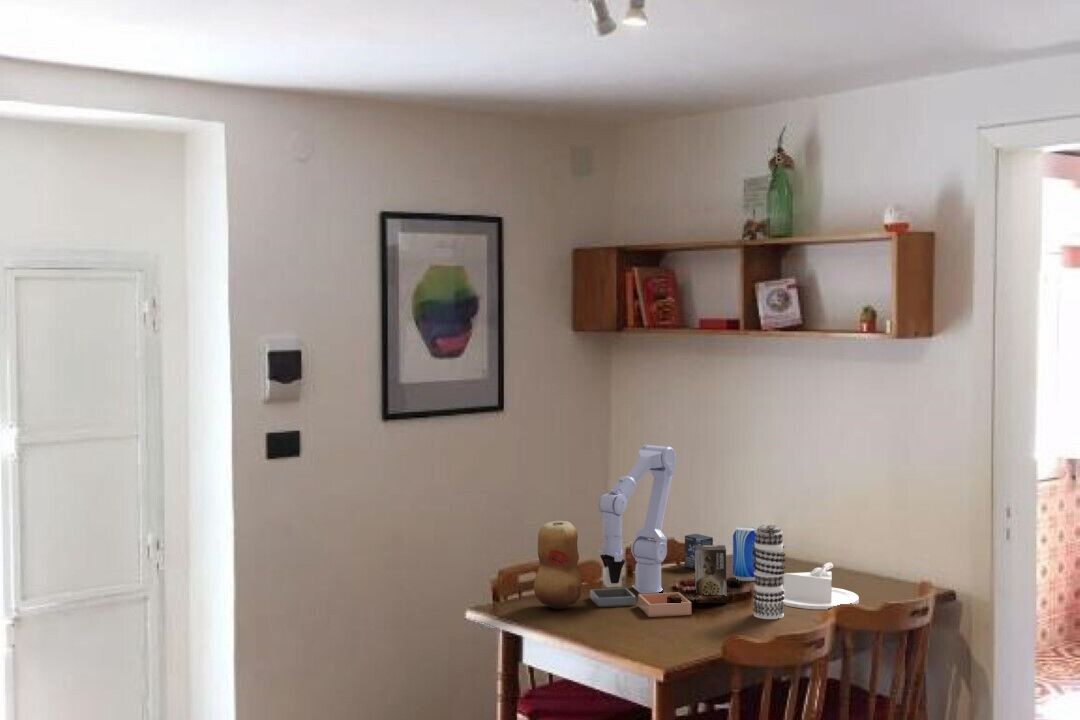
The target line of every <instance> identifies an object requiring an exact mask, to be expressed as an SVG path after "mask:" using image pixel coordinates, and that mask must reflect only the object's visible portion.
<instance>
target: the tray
mask: <svg viewBox="0 0 1080 720" xmlns="http://www.w3.org/2000/svg"><path fill="white" fill-rule="evenodd" d="M589 599H590V600H591V601H592V602H593V604H594V605H596V606H597V608H609V607H610V608H611V607H612V608H613V607H614V608H615V607H633V606H634V607H635V606H637V596H635V594H634V593H633V592H632V591H630V590H629V589H628V588H627V587H621V588H620V587H619V588H618V587H615V588H601V589H600V588H599V589H589Z"/></svg>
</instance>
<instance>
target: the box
mask: <svg viewBox="0 0 1080 720" xmlns="http://www.w3.org/2000/svg"><path fill="white" fill-rule="evenodd" d="M695 545H714V537H712V536H708V535H704V534H699V533H692V534H691V533H690V534H687V535H684V567H685V568H690V569H694V570H695Z"/></svg>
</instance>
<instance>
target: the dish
mask: <svg viewBox="0 0 1080 720" xmlns="http://www.w3.org/2000/svg"><path fill="white" fill-rule="evenodd" d="M833 568H834V564H833V562H831V561H829V562H826V563H824V564H823V565H822V567H815V568H813V570H810V571H809V572H786V573H784V575H783V591H784V594H783V595H782V596H784V600H782V601H783V603H784V604H785V605H784V606H787V607H792V608H798V609H806V610H828V608H830V607H833V606H837V605H840V604H850V603H852V604H856V605H857V604H859V602H860V598H859V595H858V594H857V593H855V592H853V591H850V590H847V589H843V588H838V587H833V586H832V584H833V583H832V580H833V578H832V573H833V572H832V571H829V570H831V569H833Z"/></svg>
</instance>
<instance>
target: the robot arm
mask: <svg viewBox="0 0 1080 720" xmlns="http://www.w3.org/2000/svg"><path fill="white" fill-rule="evenodd" d="M637 456H638V457H637V458H638V459H637V460H636V461H635V463H634V464H633V466H632V468H630V471H629V473H627V475H623V476H621V477H619V479H618V480H617V482H616V483H615V484H614V486H613V487H612V488H611V490H609V492H608V493H604V494H603V495H601V496H600V497H599V500H598V503H597V509H598V511H599V512H600V519H602V520H601V521H602V526H601V527H602V528H601V530H602V549H599V550H598V553H599V554H600V558H601V561H602V563H603V567H608V569H609V574H610V581H611V583H619V579H620V574H621V570H622V569H623V567H624V565H625V564H626V559H625V558H624V559H623V557H622V556H623V553H624V550H623V513H625V512H626V509H627V505H628V502H629V499H630V498H631V497H632V495H633V494H634V493H635V492H636V490H637V489H638V488H637V483H638V482H639V481H640V480H641V479H642V478H643V476H644V475H645V474H646V473H647V472H649V473H650V474H651V475H652V477H653V481H652V486H651V490H650V495H649V501H648V506H647V511H646V515H645V521H644V525H643V528H642V529H640V530H639V531H637V532H636V534H635V538H634V540H633V542H632V543H631V548H630V550H631V555H632V556H633V558H634V561H635V562H636V563H635V572H634V573H635V575H634V576H635V577H634V578H635V581H634V582H635V584H633V585H632V586H631V587H632V588H633V589H634V590H636V592H638V594H656V593H659V592H661V591H662V590H663V587H662V563H663V562H664V560H665V559H666V557H667V554H668V547H667V545H668V544H667V543H668V538H667V537H666V535H665V534H664V533H663V531H662V528H663V525H664V524H663V523H664V518H665V512H666V508H667V503H668V498H669V493H670V488H671V484H672V478H673V475H674V472H675V467H676V463H677V462H676V461H677V454H676V452H675V450H674V448H673V447H672V446H662V445H653V444H652V445H651V444H644V445H642V446H641V448H640V450H638V455H637ZM622 571H623V570H622Z"/></svg>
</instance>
